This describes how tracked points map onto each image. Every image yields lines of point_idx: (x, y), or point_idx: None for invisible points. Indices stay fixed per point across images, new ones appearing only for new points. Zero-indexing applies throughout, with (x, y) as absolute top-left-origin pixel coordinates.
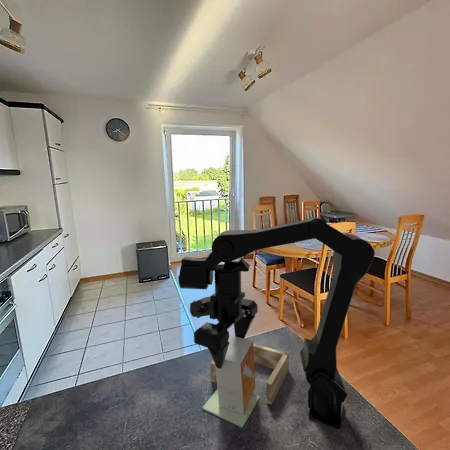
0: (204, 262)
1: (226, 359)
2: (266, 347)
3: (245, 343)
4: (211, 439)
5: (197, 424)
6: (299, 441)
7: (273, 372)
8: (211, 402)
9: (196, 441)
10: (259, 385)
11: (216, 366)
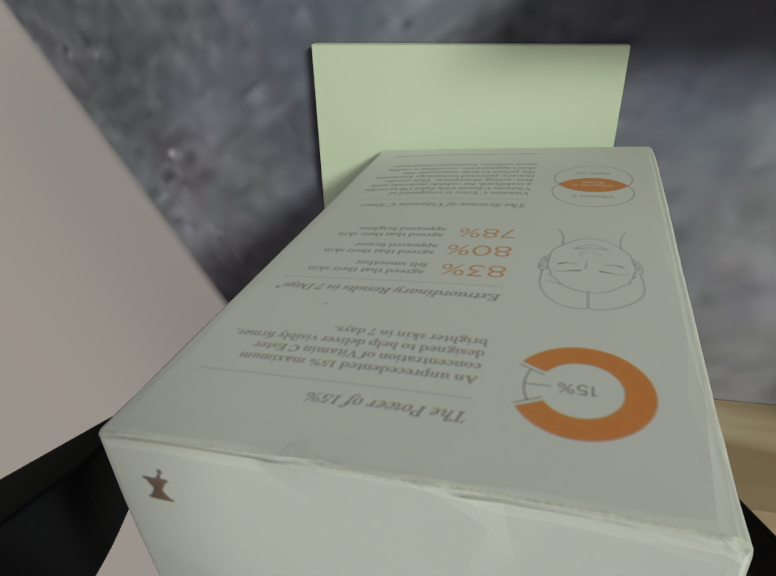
0: None
1: (164, 569)
2: None
3: None
4: (191, 211)
5: (208, 85)
6: None
7: None
8: (386, 80)
9: (132, 146)
10: (705, 312)
11: (100, 428)
